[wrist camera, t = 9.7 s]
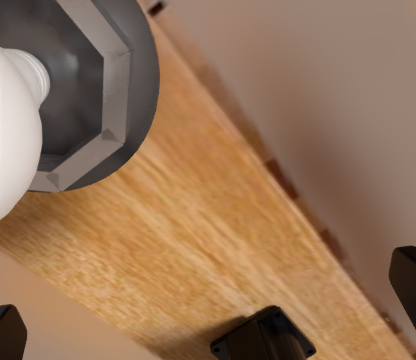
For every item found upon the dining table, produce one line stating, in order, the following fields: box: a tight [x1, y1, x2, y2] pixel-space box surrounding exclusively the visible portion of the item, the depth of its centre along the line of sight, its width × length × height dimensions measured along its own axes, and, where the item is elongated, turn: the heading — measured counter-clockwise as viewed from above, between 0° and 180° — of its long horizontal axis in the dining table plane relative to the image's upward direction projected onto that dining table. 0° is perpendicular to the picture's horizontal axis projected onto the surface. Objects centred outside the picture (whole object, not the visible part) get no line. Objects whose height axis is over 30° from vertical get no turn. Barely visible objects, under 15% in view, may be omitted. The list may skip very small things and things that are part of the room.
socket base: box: [0, 0, 160, 193], centre depth 15 cm, size 12×12×4 cm
